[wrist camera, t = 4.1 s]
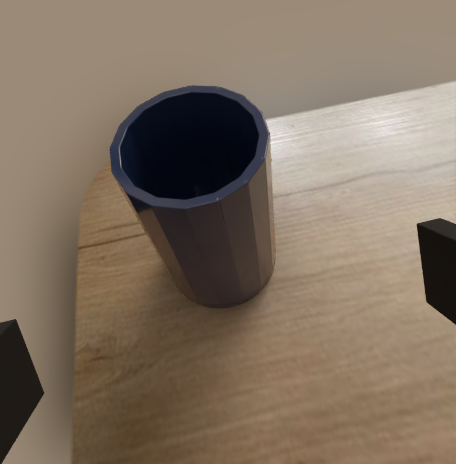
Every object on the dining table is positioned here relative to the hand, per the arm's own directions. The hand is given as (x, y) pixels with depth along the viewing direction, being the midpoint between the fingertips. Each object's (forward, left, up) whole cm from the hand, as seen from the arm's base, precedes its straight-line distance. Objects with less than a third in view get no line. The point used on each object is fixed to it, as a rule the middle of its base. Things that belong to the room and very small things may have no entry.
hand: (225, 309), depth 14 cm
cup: (0, +9, -14) cm, 16 cm away
